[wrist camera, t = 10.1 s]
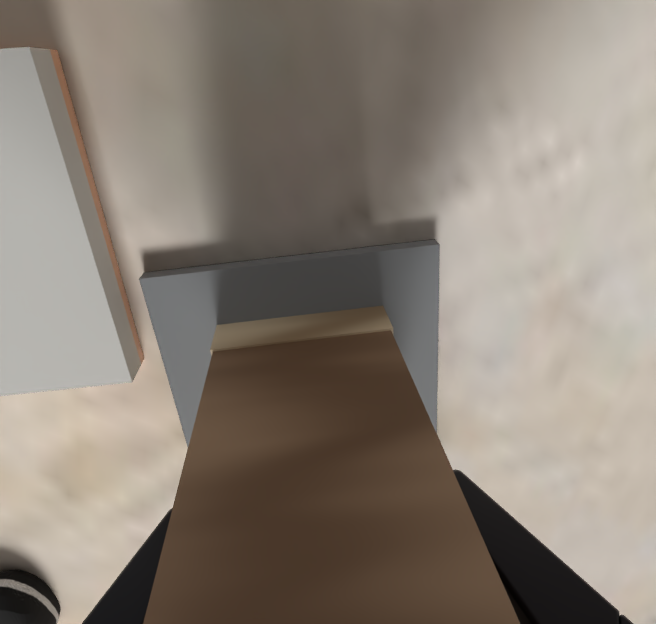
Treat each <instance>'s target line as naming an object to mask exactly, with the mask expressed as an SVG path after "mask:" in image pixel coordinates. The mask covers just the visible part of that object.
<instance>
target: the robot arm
mask: <svg viewBox="0 0 656 624" xmlns="http://www.w3.org/2000/svg"><path fill="white" fill-rule="evenodd" d="M453 472H454V474H455V477H456V479H457V481H458V483H459V486H460V488H461V490H462V492H463V495H464V497H465V499H466V502H467V504H468V506H469V508H470V511H471V513H472V515H473V517H474V520H475V522H476V524H477V527H478V529H479V531H480V533H481V536H482V538H483V540H484V542H485V545H486V547H487V549H488V552H489V554H490V556H491V558H492V561H493V563H494V565H495V567H496V570H497V572H498V574H499V577H500V579H501V581H502V583H503V586H504V588H505V590H506V592H507V595H508V597H509V599H510V601H511V604H512V606H513V608H514V611H515V613H516V615H517V617H518V620H519V622H520V624H633V623H632V622H631V621H630V620H629V619H627V618H626V617H625V616H624V615H620V616H619V611H618V610H617V609H616V608H615V607H614V606H613V605H611V604H610V603H609V602H608V601H607V600H606V599H605V598H604V597H602V596H601V595H600V594H599V593H598V592H597V591H596V590H594V589H593V588H592V587H591V586H590V585H589V584H588V583H587V582H585V581H584V580H583V579H582V578H581V577H580V576H579V575H578V574H576V573H575V572H574V571H573V570H572V569H571V568H570V567H569V566H567V565H566V564H565V563H564V562H563V561H562V560H561V559H559V558H558V557H557V556H556V555H555V554H554V553H553V552H552V551H550V550H549V549H548V548H547V547H546V546H545V545H544V544H543V543H541V542H540V541H539V540H538V539H537V538H536V537H535V536H533V535H532V534H531V533H530V532H529V531H528V530H527V529H526V528H524V527H523V526H522V525H521V524H520V523H519V522H518V521H517V520H515V519H514V518H513V517H512V516H511V515H510V514H509V513H508V512H506V511H505V510H504V509H503V508H502V507H501V506H500V505H498V504H497V503H496V502H495V501H494V500H493V499H492V498H491V497H489V496H488V495H487V494H486V493H485V492H484V491H483V490H482V489H480V488H479V487H478V486H477V485H476V484H475V483H474V482H472V481H471V480H470V479H469V478H468V477H467V476H466V475H465V474H463V473H462V472H461V471H459V470H453ZM172 509H173V508H172ZM172 509H170V510H169V511H168V513H167V514H166V515H165V517H164V518H163V519H162V521H161V522H160V523H159V524H158V526H157V527H156V528H155V530H154V531H153V532H152V533H151V535H150V536H149V537H148V539H147V540H146V541H145V543H144V544H143V545H142V546H141V548H140V549H139V550H138V552H137V553H136V554H135V555H134V557H133V558H132V559H131V561H130V562H129V563H128V565H127V566H126V567H125V568H124V570H123V571H122V572H121V574H120V575H119V576H118V577H117V579H116V580H115V581H114V583H113V584H112V585H111V587H110V588H109V589H108V590H107V592H106V593H105V594H104V596H103V597H102V598H101V599H100V601H99V602H98V603H97V605H96V606H95V607H94V609H93V610H92V611H91V612H90V614H89V615H88V616H87V618H86V619H85V620H84V621H83V623H82V624H143V622H144V618H145V615H146V611H147V607H148V603H149V599H150V595H151V591H152V587H153V583H154V579H155V575H156V572H157V568H158V564H159V560H160V556H161V552H162V548H163V544H164V540H165V536H166V532H167V529H168V525H169V521H170V517H171V513H172Z"/></svg>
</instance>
